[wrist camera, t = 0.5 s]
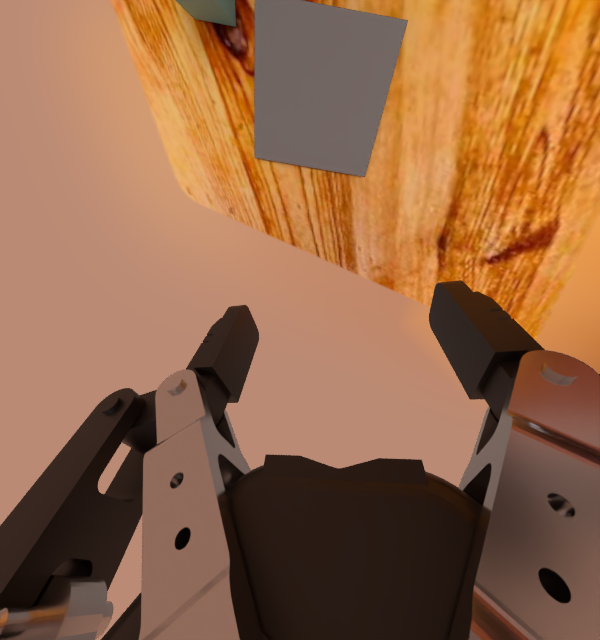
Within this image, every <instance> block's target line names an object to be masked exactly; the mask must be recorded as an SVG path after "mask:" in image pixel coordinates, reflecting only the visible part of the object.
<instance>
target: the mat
mask: <svg viewBox="0 0 600 640" xmlns="http://www.w3.org/2000/svg"><path fill="white" fill-rule="evenodd" d="M407 22H408V20H404V19H398V18H393V17H388V16H382V15H377V14H372V13H366V12H361V11H356V10H350V9H345V8H340V7H334V6H329V5H324V4H318V3H313V2H308V1H302V0H255V158H259V159H265V160H271V161H276V162H282V163H288V164H293V165H299V166H305V167H311V168H316V169H322V170H328V171H333V172H339V173H345V174H351V175H356V176H362V177H365V174H366V171H367V167H368V163H369V160H370V156H371V153H372V149H373V145H374V142H375V138H376V134H377V131H378V127H379V124H380V120H381V116H382V113H383V109H384V105H385V102H386V98H387V94H388V91H389V87H390V84H391V80H392V76H393V73H394V69H395V65H396V62H397V58H398V54H399V51H400V47H401V44H402V40H403V36H404V33H405V29H406V25H407Z"/></svg>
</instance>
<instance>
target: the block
mask: <svg viewBox="0 0 600 640" xmlns="http://www.w3.org/2000/svg"><path fill="white" fill-rule="evenodd" d="M176 1H177V2H178V3H179V4H180V5H181V6H182V7H183V8H184V9H185V10H186V11H187V12H188V13H189V14H190V15H191V16H192V17H193V18H194V19H197V20H202V21H208V22H213V23H218V24H224V25H229V26H235V27H236V12H235V0H176Z"/></svg>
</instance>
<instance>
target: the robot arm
mask: <svg viewBox="0 0 600 640" xmlns="http://www.w3.org/2000/svg"><path fill="white" fill-rule="evenodd" d="M429 322H430V327H431V329H432V331H433V333H434V335H435V336H436V338H437V340H438V342H439V344H440V346H441V347H442V349H443V351H444V353H445V355H446V357H447V358H448V360H449V362H450V364H451V366H452V367H453V369H454V371H455V373H456V375H457V376H458V379H459V380H460V382H461V383H462V386H463V388H464V389H465V391H466V393H467V395H468V397H469V399H485V400H486V402H487V403H488V405H489V407H488V409H487V411H486V413H485V417H484V420H483V423H482V426H481V429H480V432H479V435H478V439H477V442H476V445H475V448H474V451H473V454H472V457H471V460H470V462H469V464H468V466H467V468H466V470H465V472H464V474H463V477H462V479H461V482H460V484H459V487H456V486H455V485H453V484H451V483H449V482H448V481H446V480H444V479H442V478H440V477H438V476H435V475H433V474H431V473H428V472H425V470H424V466H423V463H422V460H411V459H382V458H379V459H375V460H371V461H368V462H364V463H360V464H356V465H353V466H349V467H346V468H341V469H338V468H334V467H331V466H328V465H325V464H322V463H319V462H316V461H314V460H311V459H308V458H305V457H302V456H291V455H288V456H287V455H266V457H265V462H264V465H263V466H260V467H258V468H256V469H253V470H252V471H251V470H250V468H249V466H248V463H247V462H246V460H245V458H244V457H243V455H242V453H241V451H240V448H239V445H238V442H237V439H236V437H235V434H234V431H233V428H232V425H231V422H230V420H229V417H228V414H227V412H226V410H225V408H226V405H227V403H237V402H238V401H239V398H240V395H241V392H242V389H243V386H244V383H245V380H246V377H247V374H248V371H249V368H250V365H251V362H252V359H253V356H254V353H255V350H256V347H257V344H258V341H259V332H258V329H257V326H256V324H255V322H254V320H253V317H252V315H251V313H250V310H249V308H248V307H247V306H246V305H241V306H231V307H229V308H228V309H227V311H226V313H225V314H224V316H223V318H220V319H219V320H218V321H217V322H216V323H215V324H214V325H213V326H212V327H211V329H210V330H209V332H208V333H207V336H206V337H205V339H204V340H203V343H201V345H200V347H199V348H198V350H197V352H196V353H195V355H194V356H193V358H192V360H191V361H190V363H189V365H188V367H187V368H186V370H181V371H178V372H176V373H174V374H172V375H170V376H169V377H168V378H166V379H165V380H164V381H163V383H162V384H161V385H160V386H159V388H158V389H157V390H155V391H152V392H149V393H146V394H143V395H138V394H137V393H136V392H135V391H133V390H132V389H130V388H125V389H121V390H118V391H116V392H114V393H112V394H111V395H109V396H108V397H106V398H105V399H104V400H103V401H101V402H100V403H99V404H98V405H97V407H96V408H95V409H94V410H93V412H92V413H91V414H90V415H89V417H88V418H87V419H86V420H85V422H84V423H83V424H82V425H81V426H80V428H79V429H78V430H77V432H76V433H75V434H74V435H73V436H72V438H71V439H70V440H69V441H68V443H67V444H66V445H65V446H64V447H63V449H62V450H61V451H60V452H59V454H58V455H57V456H56V457H55V459H54V460H53V461H52V462H51V464H50V465H49V466H48V467H47V469H46V470H45V471H44V472H43V474H42V475H41V476H40V477H39V479H38V480H37V481H36V482H35V484H34V485H33V486H32V487H31V489H30V490H29V491H28V492H27V493H26V495H25V496H24V497H23V499H22V500H21V501H20V502H19V503H18V505H17V506H16V507H15V508H14V510H13V511H12V512H11V513H10V515H9V516H8V517H7V518H6V519H5V521H4V522H3V523H2V524H1V526H0V640H95V639H97V638H98V637H99V636H100V635H102V633H103V632H104V631H105V629H106V628H107V627H108V625H109V622H110V620H111V618H112V614H113V604H112V602H110V601H107V591H108V589H109V587H110V585H111V582H112V580H113V578H114V576H115V574H116V571H117V569H118V567H119V565H120V562H121V560H122V558H123V556H124V554H125V551H126V549H127V547H128V545H129V542H130V540H131V538H132V536H133V534H134V531H135V529H136V527H137V525H138V522H139V520H140V518H141V516H142V514H143V519H142V522H143V523H142V592H141V593H140V594H139V595H138V596H137V598H136V599H135V600H134V601H133V602H132V604H131V605H130V606H129V607H128V608H127V610H126V611H125V612H124V613H123V614H122V615H121V617H120V618H119V619H118V620H117V621H116V622H115V624H114V625H113V626H112V627H111V628H110V630H109V631H108V632H107V633H106V634H105V635H104V637H103V638H102V639H101V640H600V374H598V373H597V372H596V371H595V370H594V369H593V368H591V367H590V366H588V365H587V364H585V363H584V362H582V361H580V360H578V359H576V358H574V357H571V356H569V355H565V354H563V353H559V352H554V351H548V350H545V349H543V348H542V347H541V346H540V345H539V344H538V343H537V342H536V341H535V340H534V339H533V338H532V337H531V336H530V335H529V334H528V333H527V332H526V331H525V330H524V329H523V328H522V327H521V326H520V325H519V324H518V323H517V322H516V321H515V320H514V319H511V316H510V315H509V314H508V313H507V312H506V311H503V310H502V308H501V307H500V306H499V305H498V304H497V303H496V302H495V301H494V300H493V299H492V298H490V297H488V296H486V295H484V294H482V293H480V292H473V291H472V290H471V289H470V288H469V287H468V286H467V285H466V284H465V283H464V282H463V281H461V280H459V281H451V282H442V283H438V284H437V285H436V287H435V290H434V295H433V299H432V304H431V308H430V313H429ZM121 442H122V443H124V444H126V445H128V446H129V447H131V450H130V452H129V453H128V455H127V457H126V458H125V460H124V462H123V464H122V465H121V467H120V469H119V470H118V472H117V474H116V476H115V477H114V479H113V481H112V482H111V484H110V486H109V488H108V490H107V491H106V493H105V494H101V493H100V492H99V491H98V481H99V478H100V476H101V474H102V473H103V471H104V469H105V468H106V466H107V464H108V463H109V461H110V460H111V458H112V457H113V455H114V453H115V452H116V450H117V448H118V447H119V445H120V444H121Z"/></svg>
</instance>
